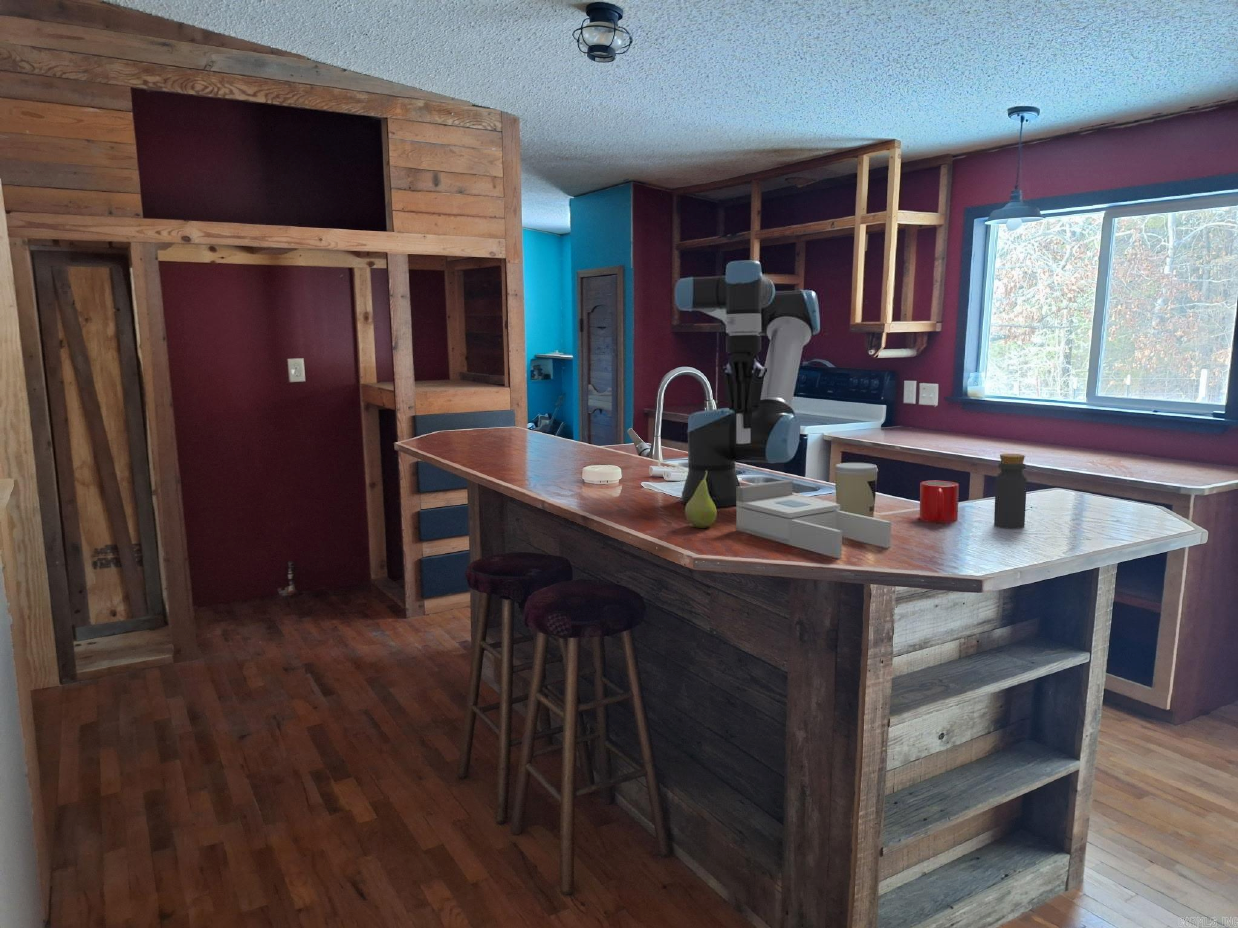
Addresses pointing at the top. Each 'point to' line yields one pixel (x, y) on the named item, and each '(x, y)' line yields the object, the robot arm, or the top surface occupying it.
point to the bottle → (1010, 492)
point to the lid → (780, 500)
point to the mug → (939, 501)
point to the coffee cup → (856, 487)
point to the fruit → (701, 507)
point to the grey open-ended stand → (815, 529)
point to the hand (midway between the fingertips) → (743, 443)
